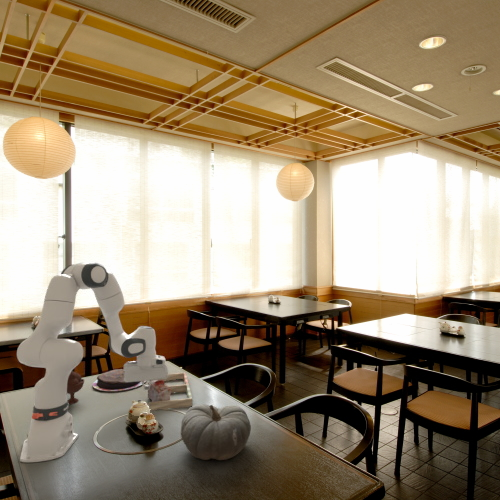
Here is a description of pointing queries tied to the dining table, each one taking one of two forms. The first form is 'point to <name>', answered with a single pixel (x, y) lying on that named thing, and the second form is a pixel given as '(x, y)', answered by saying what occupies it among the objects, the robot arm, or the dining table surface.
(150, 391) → the food item
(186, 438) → the gourd
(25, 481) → the dining table surface
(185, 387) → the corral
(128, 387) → the chocolate cake
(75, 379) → the ice cream bowl
